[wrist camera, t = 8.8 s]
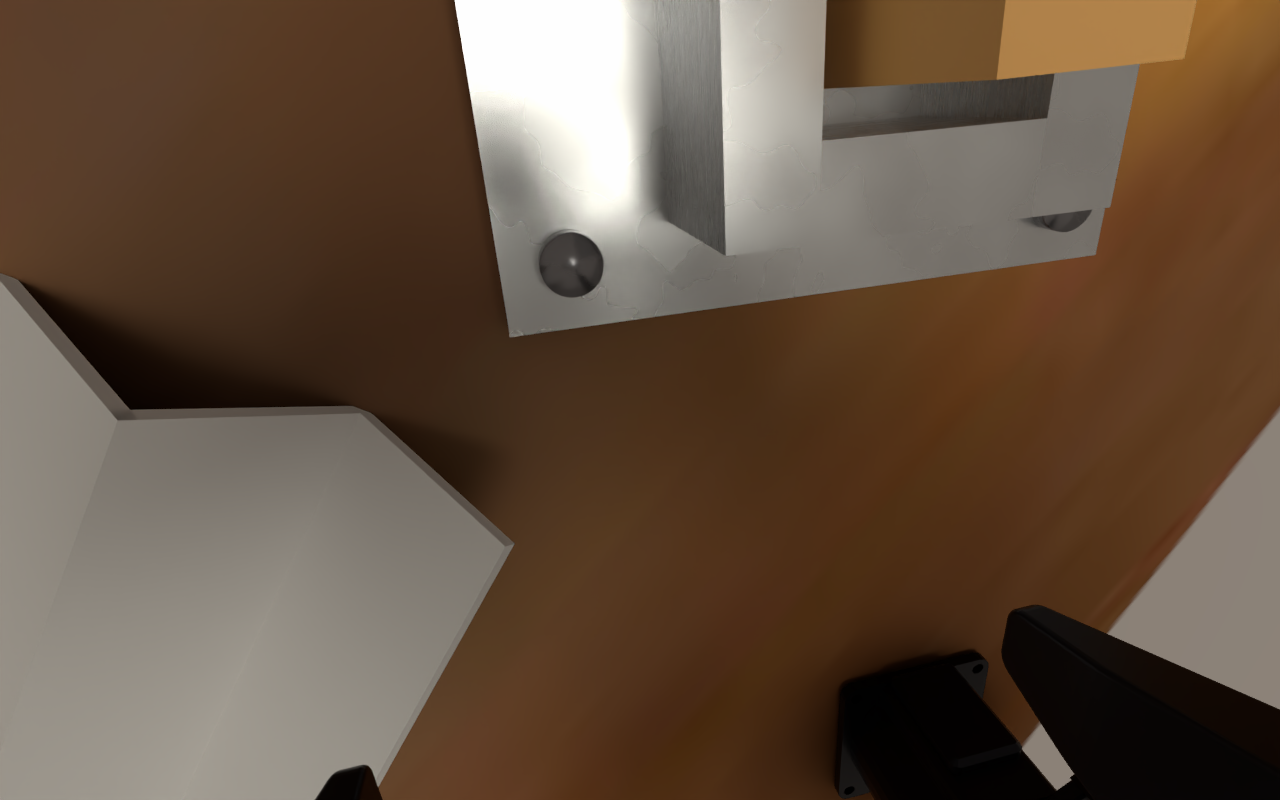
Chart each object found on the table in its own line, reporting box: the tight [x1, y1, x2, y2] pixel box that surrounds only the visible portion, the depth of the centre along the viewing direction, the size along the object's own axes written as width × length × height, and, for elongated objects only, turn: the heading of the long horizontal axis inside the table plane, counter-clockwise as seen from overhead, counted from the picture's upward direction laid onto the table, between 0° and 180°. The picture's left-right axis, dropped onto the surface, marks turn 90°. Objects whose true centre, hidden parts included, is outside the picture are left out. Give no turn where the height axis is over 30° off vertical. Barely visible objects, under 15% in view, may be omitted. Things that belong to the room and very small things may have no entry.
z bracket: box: [0, 273, 515, 800], centre depth 19 cm, size 12×25×6 cm
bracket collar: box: [455, 0, 1140, 337], centre depth 15 cm, size 14×18×6 cm
